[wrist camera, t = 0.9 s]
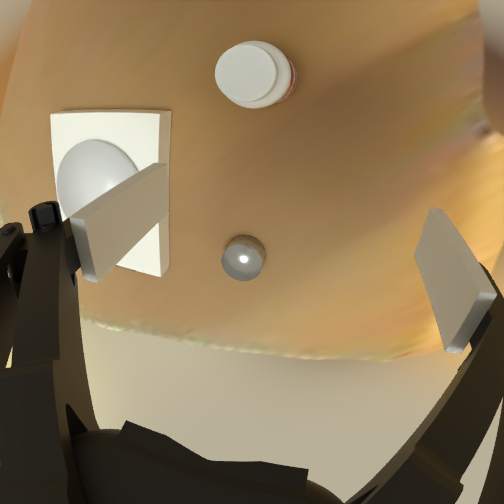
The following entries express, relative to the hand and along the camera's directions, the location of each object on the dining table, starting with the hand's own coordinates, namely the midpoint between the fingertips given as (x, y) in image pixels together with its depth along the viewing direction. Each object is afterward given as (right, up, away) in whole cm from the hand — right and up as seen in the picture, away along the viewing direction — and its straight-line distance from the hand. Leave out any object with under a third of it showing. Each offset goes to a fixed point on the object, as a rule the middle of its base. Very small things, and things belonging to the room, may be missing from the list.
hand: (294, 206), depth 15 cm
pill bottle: (0, +17, +15) cm, 23 cm away
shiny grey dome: (-3, -2, +27) cm, 27 cm away
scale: (-21, +7, +26) cm, 34 cm away
